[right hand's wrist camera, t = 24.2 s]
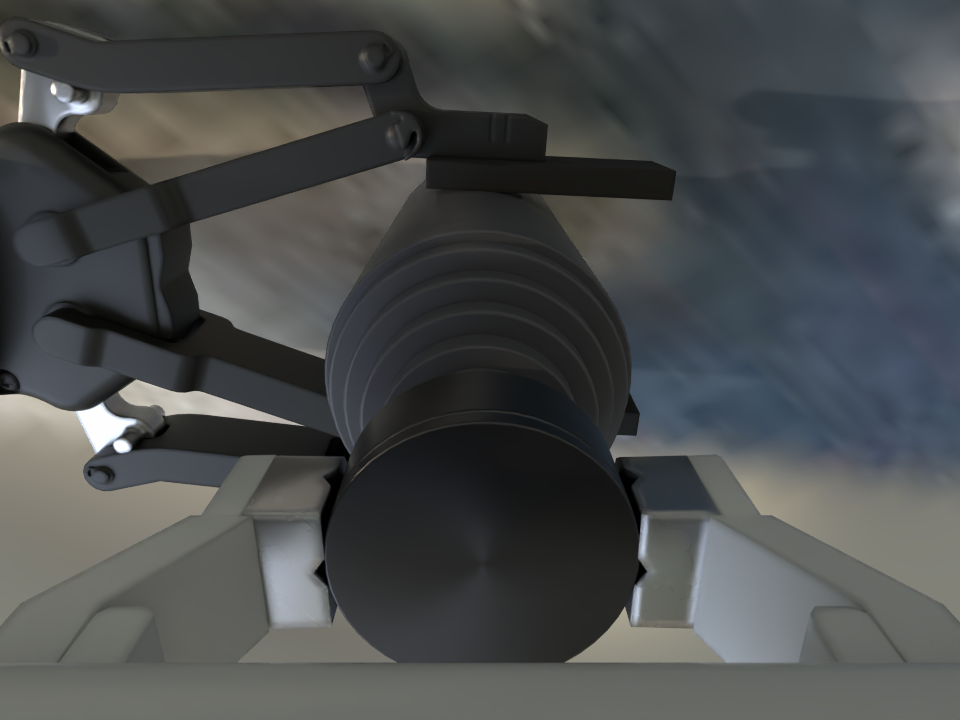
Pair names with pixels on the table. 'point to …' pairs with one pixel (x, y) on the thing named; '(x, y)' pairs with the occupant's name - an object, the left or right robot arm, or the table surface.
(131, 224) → the left robot arm
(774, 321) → the table surface
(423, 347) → the bottle
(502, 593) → the cap
